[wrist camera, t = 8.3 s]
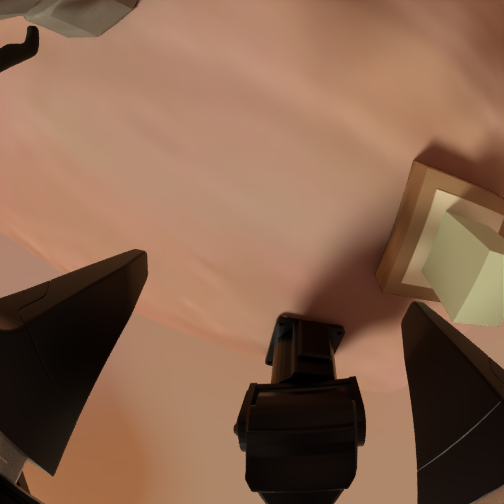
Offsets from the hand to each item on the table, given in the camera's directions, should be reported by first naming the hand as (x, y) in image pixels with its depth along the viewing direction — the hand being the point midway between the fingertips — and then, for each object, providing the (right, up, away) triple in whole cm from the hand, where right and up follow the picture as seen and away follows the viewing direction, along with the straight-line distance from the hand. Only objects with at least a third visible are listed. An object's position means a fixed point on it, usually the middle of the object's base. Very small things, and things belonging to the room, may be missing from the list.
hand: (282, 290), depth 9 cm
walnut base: (+15, +3, +12) cm, 19 cm away
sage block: (+15, +1, +9) cm, 17 cm away
